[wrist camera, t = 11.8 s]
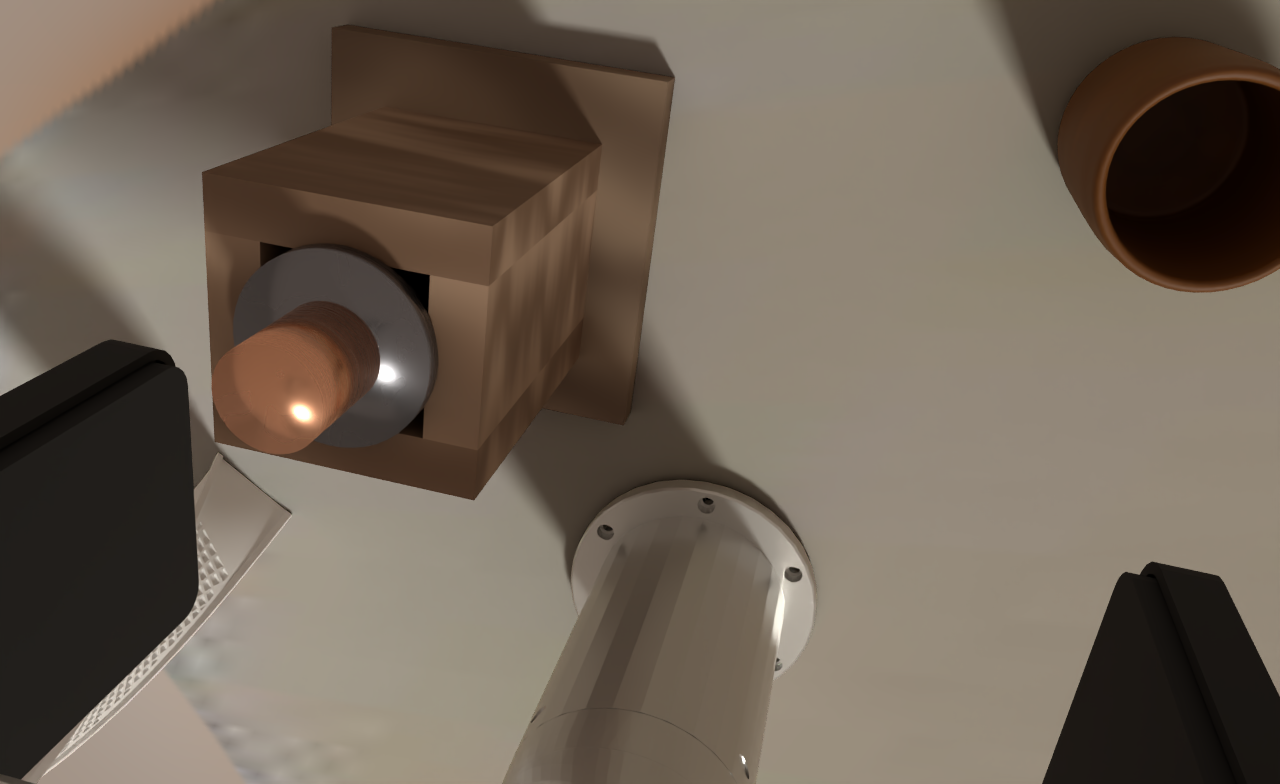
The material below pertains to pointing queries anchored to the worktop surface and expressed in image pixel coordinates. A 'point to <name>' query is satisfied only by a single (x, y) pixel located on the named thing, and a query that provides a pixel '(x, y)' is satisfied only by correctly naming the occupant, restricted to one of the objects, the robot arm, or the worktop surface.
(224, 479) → the skyscraper
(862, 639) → the worktop surface
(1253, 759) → the robot arm
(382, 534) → the worktop surface
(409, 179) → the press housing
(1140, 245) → the mug
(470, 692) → the worktop surface
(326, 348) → the plunger
